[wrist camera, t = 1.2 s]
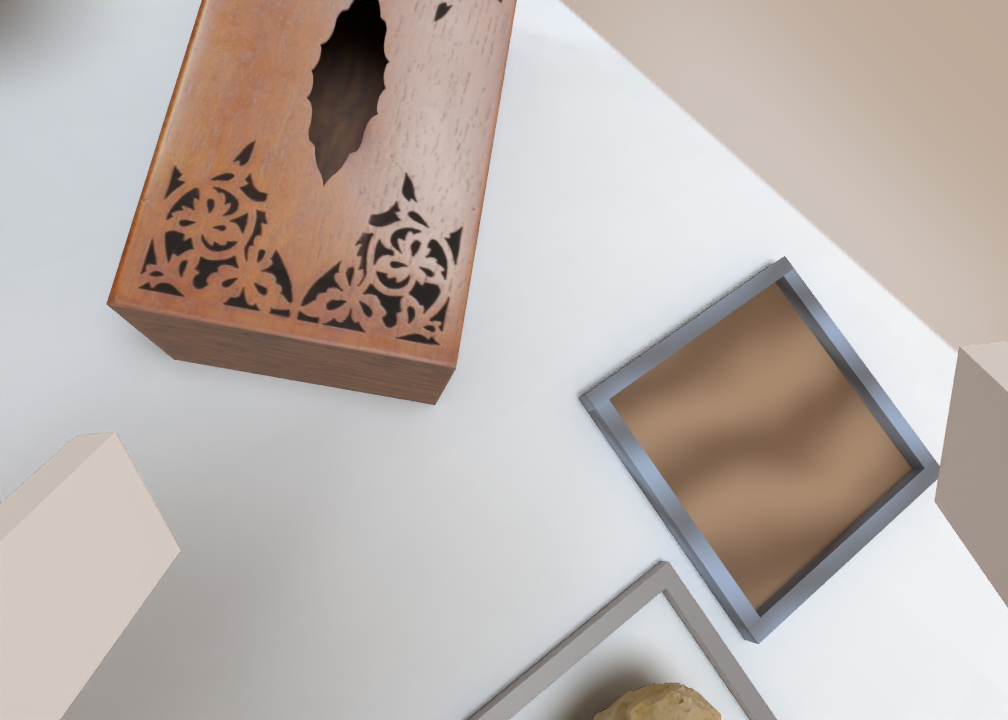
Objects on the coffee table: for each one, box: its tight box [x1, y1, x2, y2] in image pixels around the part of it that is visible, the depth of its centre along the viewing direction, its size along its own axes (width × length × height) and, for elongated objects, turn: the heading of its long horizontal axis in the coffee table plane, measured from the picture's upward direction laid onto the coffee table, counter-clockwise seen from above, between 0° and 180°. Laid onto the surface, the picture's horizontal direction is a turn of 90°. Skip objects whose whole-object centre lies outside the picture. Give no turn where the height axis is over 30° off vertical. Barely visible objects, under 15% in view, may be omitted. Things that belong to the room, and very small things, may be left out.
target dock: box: [579, 256, 940, 644], centre depth 41 cm, size 17×17×1 cm
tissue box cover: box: [107, 0, 517, 405], centre depth 36 cm, size 26×14×10 cm, turn 172°
